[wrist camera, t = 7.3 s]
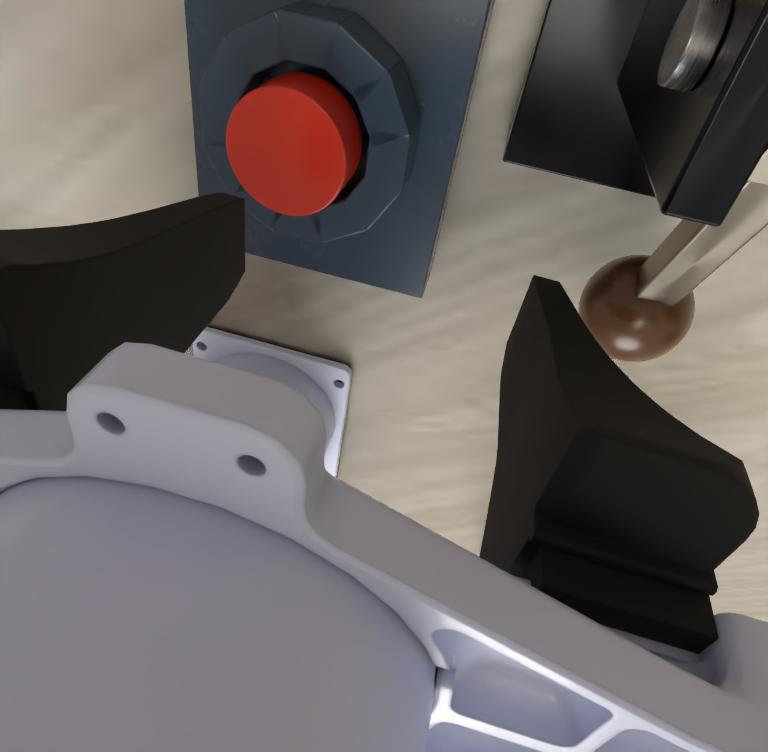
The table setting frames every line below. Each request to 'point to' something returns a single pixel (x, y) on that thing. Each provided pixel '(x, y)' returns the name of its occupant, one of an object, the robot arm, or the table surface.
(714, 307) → the table surface
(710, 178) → the switch bracket
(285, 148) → the button
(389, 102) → the button box
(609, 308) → the lever
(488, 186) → the table surface
